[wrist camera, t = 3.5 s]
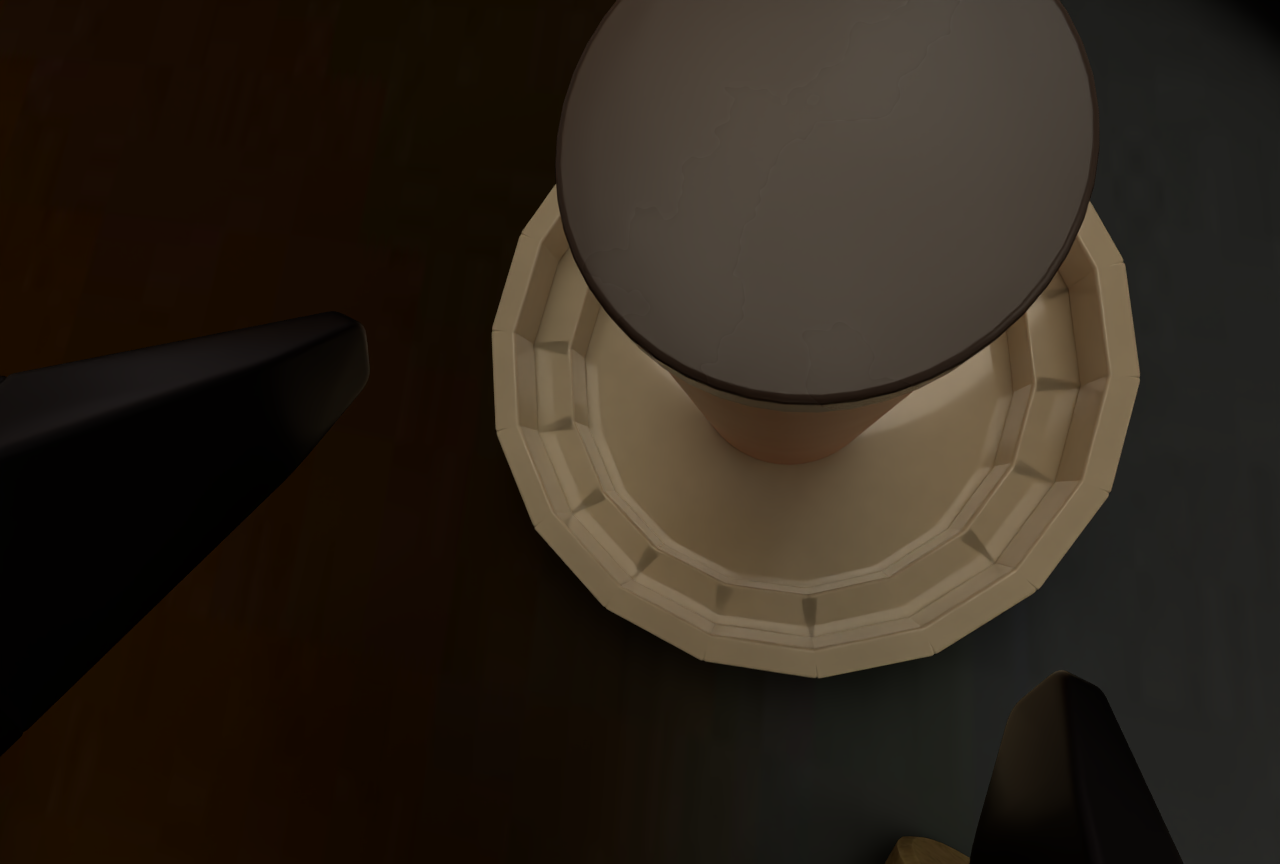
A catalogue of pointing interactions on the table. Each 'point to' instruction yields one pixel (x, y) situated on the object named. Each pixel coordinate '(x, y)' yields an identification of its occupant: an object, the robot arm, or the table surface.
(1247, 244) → the table surface
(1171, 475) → the table surface
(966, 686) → the table surface
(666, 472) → the bowl
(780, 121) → the copper tin
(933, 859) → the gavel
